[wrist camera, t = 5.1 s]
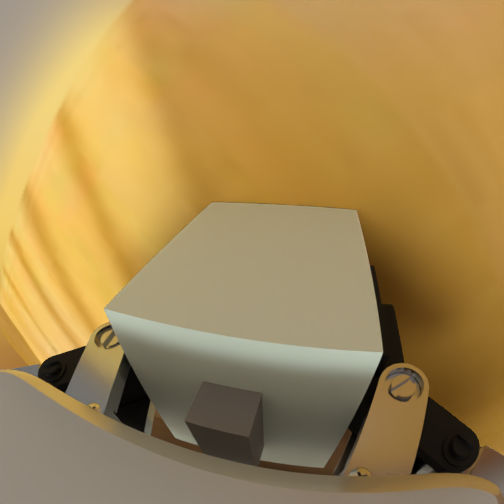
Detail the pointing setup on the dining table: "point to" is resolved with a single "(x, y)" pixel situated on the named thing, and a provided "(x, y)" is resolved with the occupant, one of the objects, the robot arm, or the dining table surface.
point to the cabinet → (255, 331)
